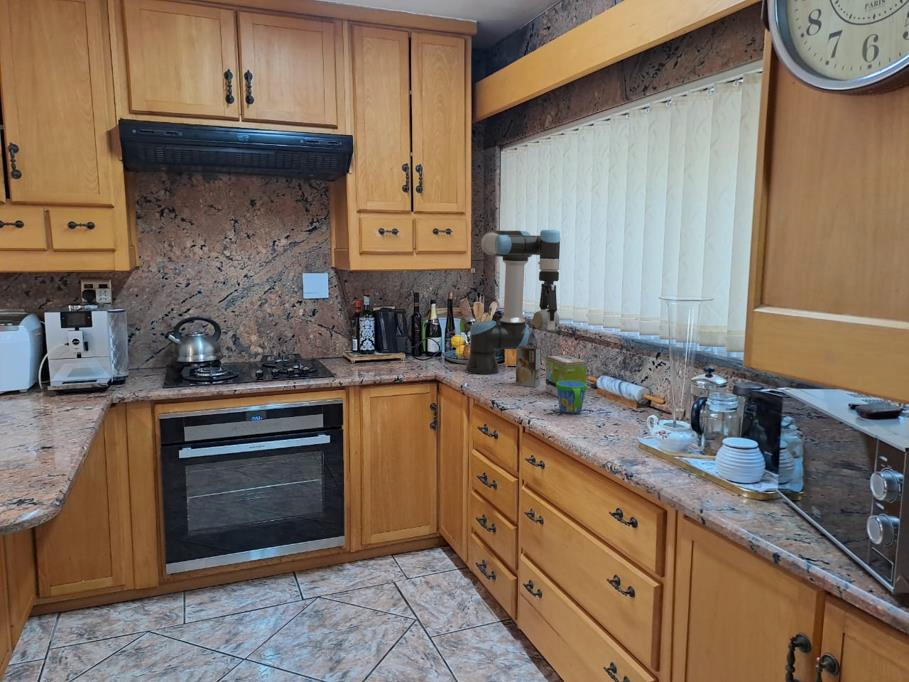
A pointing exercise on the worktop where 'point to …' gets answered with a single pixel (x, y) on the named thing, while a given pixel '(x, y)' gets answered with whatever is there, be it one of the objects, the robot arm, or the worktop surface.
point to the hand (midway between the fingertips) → (547, 327)
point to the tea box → (564, 371)
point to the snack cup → (571, 396)
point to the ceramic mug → (544, 320)
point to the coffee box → (528, 366)
